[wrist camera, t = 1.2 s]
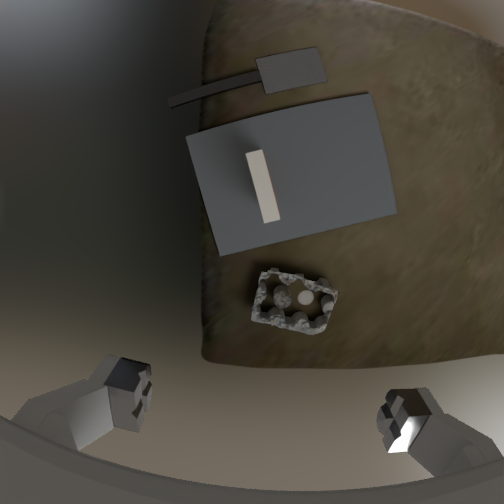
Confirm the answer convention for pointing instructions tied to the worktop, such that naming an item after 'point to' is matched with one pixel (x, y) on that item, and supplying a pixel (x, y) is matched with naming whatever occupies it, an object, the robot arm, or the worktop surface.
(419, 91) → the worktop surface
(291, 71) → the turner
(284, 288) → the egg carton
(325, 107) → the mat
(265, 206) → the tile
